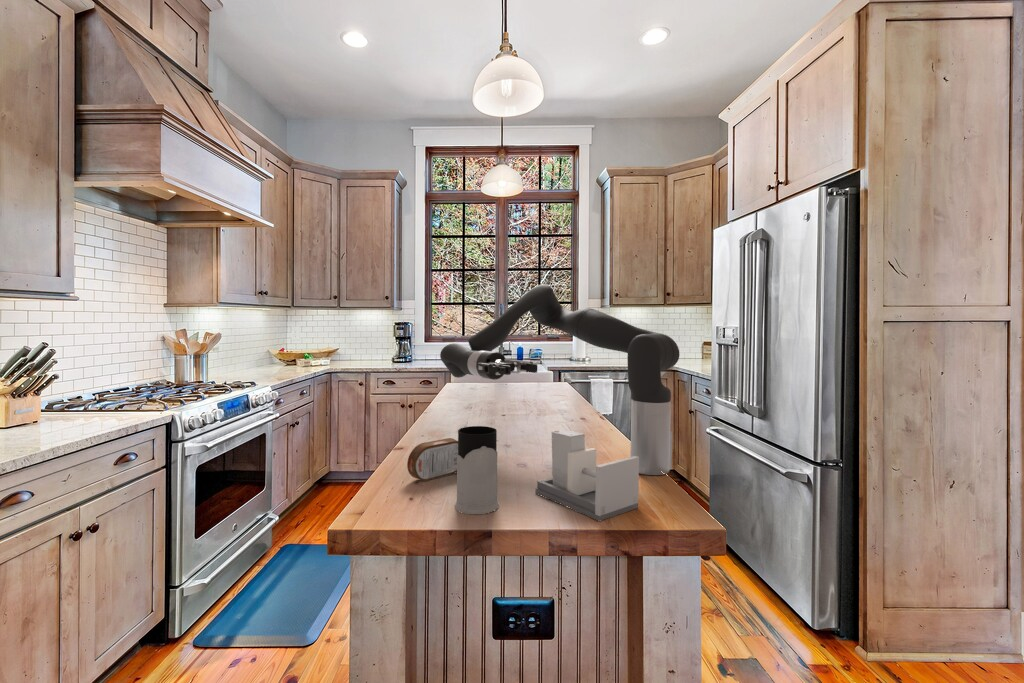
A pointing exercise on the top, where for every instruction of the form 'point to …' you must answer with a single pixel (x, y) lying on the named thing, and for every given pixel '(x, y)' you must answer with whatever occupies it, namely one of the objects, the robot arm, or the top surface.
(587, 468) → the panel
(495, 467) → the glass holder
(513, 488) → the top surface
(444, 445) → the tin
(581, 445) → the skincare box
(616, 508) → the pusher lane
